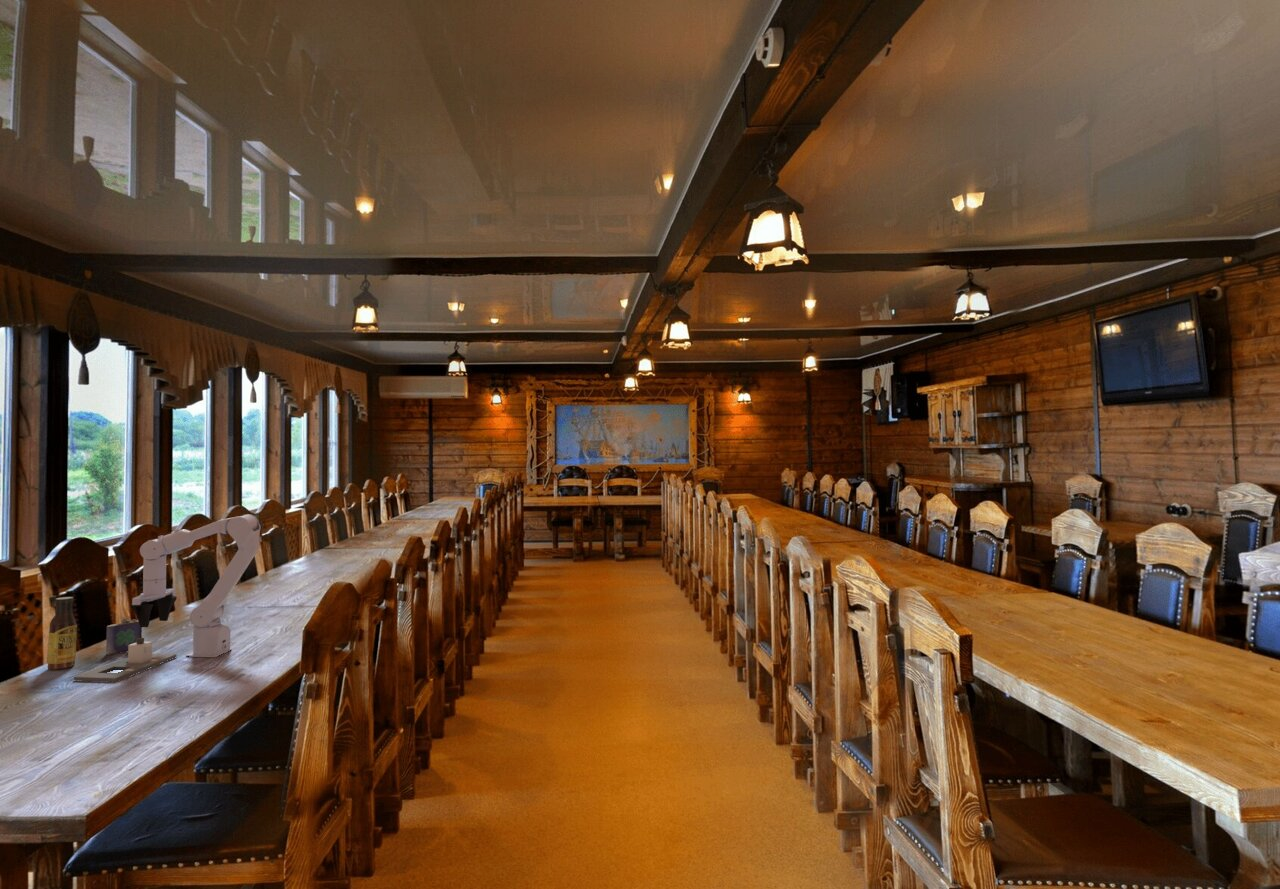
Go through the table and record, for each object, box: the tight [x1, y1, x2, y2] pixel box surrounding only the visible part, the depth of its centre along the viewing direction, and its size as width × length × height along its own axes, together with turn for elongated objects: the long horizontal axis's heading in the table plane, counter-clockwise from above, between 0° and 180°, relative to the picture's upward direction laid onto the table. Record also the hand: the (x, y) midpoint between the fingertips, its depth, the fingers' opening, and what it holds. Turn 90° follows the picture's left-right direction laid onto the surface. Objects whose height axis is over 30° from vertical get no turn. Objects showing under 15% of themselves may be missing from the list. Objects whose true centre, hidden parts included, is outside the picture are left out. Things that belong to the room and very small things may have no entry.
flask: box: [105, 616, 143, 656], centre depth 213 cm, size 9×3×11 cm, turn 146°
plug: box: [127, 637, 153, 663], centre depth 201 cm, size 5×4×7 cm
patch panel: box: [73, 653, 177, 683], centre depth 196 cm, size 12×22×1 cm, turn 176°
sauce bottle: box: [47, 596, 78, 671], centre depth 198 cm, size 6×6×20 cm
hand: (154, 623), depth 208 cm, fingers open, 7 cm apart
